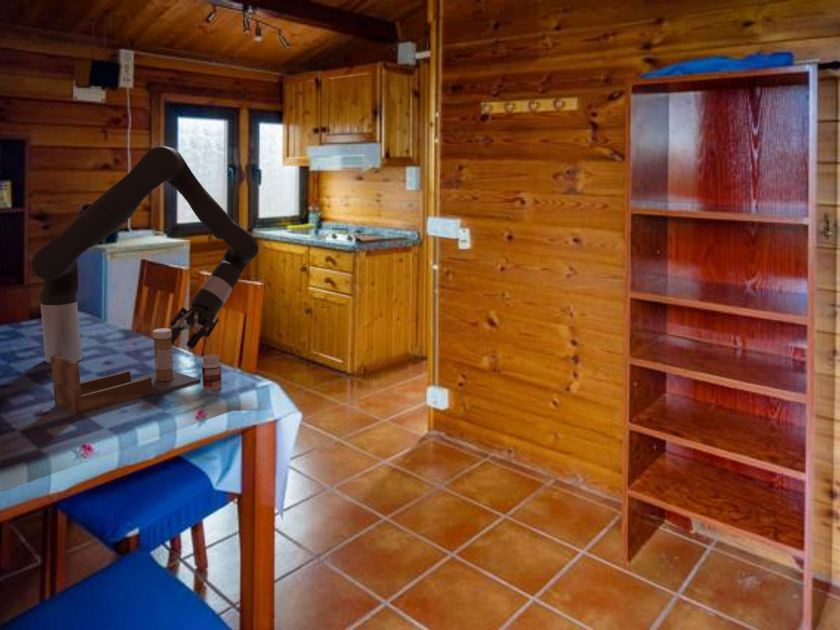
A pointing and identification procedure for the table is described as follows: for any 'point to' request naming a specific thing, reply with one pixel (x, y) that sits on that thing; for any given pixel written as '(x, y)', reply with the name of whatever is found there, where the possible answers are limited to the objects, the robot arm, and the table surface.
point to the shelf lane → (93, 387)
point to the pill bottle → (211, 372)
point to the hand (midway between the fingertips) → (179, 344)
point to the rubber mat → (170, 382)
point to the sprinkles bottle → (163, 354)
